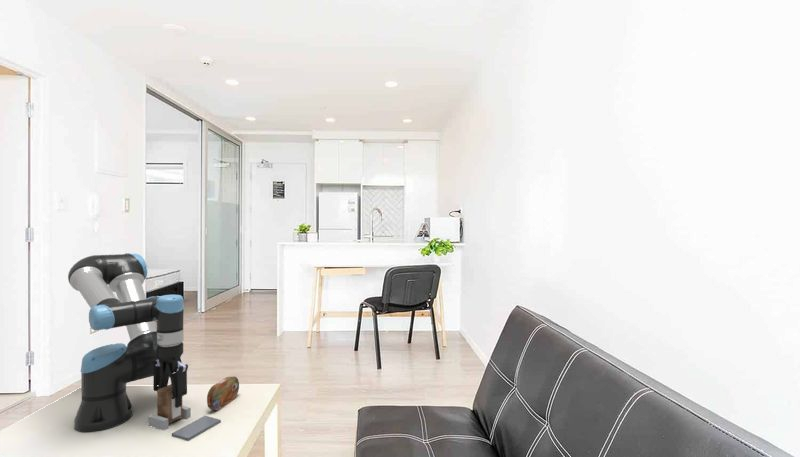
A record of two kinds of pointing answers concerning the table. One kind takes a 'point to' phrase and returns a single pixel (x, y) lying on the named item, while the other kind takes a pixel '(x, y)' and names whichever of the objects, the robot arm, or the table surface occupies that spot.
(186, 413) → the cradle
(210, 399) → the tin
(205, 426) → the slate plate
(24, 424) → the table surface
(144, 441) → the table surface
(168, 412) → the walnut block
